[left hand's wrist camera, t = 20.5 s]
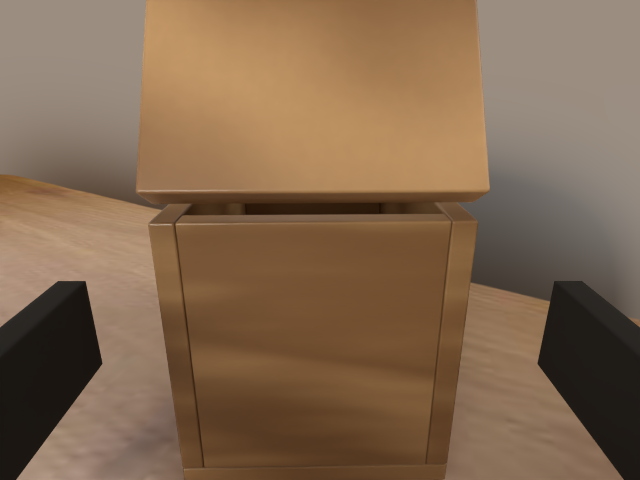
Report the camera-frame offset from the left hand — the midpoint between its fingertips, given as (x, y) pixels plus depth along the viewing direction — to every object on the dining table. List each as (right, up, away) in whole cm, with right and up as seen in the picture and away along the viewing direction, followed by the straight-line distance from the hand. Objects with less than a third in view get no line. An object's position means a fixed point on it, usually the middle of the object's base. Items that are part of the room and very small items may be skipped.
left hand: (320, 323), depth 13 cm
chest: (0, -4, +9) cm, 9 cm away
